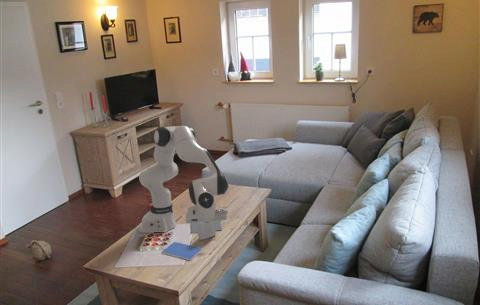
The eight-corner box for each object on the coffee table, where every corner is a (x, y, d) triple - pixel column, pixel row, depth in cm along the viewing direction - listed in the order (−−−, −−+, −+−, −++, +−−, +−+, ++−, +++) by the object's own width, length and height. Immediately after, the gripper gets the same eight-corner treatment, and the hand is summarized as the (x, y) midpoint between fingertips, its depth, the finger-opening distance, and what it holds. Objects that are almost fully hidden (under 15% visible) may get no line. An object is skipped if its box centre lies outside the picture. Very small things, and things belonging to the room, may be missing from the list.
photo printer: (213, 232, 231) (211, 213, 228) (216, 235, 228) (215, 216, 224) (197, 238, 226) (195, 218, 222) (200, 241, 222) (199, 221, 219)
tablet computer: (160, 254, 212) (160, 251, 212) (174, 243, 223) (174, 240, 222) (190, 262, 203) (190, 259, 203) (203, 250, 214) (203, 248, 214)
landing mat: (191, 233, 231) (191, 232, 231) (190, 222, 245) (190, 222, 245) (221, 230, 234) (221, 229, 233) (220, 219, 247) (219, 219, 247)
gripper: (227, 203, 191) (226, 213, 204) (184, 207, 189) (186, 217, 201) (228, 216, 189) (227, 225, 201) (185, 220, 186) (186, 229, 198)
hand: (206, 221), depth 201 cm, fingers closed
